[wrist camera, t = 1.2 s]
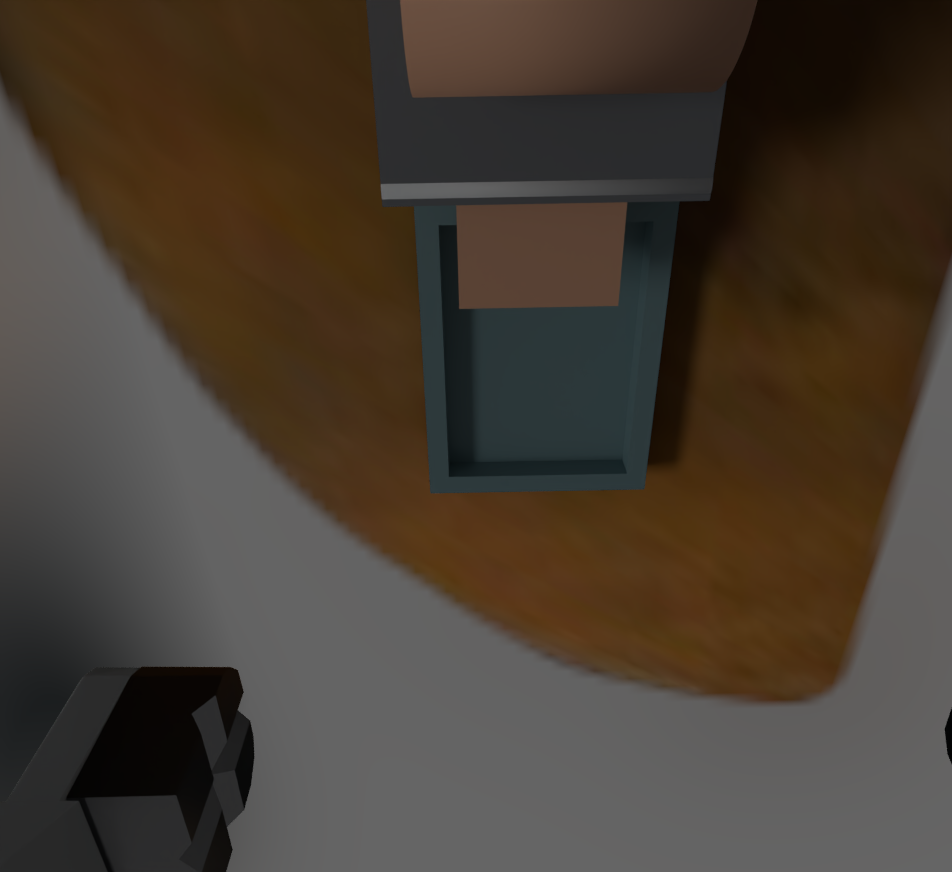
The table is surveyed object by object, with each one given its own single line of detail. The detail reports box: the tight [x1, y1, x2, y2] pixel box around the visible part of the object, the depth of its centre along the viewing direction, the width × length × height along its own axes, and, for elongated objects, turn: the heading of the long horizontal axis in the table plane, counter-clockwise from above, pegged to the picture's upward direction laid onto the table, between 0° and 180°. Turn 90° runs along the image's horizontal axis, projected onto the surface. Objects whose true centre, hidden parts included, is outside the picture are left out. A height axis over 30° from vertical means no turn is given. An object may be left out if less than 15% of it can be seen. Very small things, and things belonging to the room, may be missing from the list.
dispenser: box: [366, 0, 757, 207], centre depth 19 cm, size 8×9×11 cm
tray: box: [414, 201, 680, 493], centre depth 29 cm, size 12×9×2 cm
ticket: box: [456, 202, 627, 309], centre depth 22 cm, size 9×5×2 cm, turn 1°
